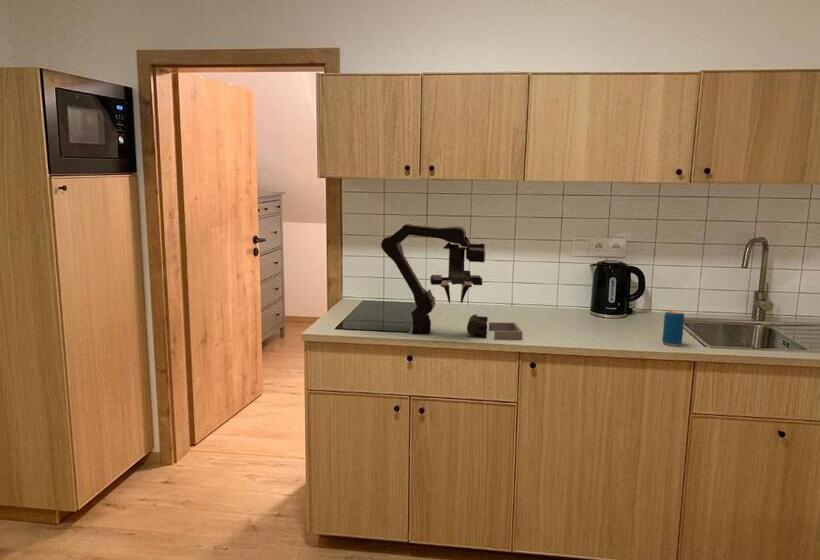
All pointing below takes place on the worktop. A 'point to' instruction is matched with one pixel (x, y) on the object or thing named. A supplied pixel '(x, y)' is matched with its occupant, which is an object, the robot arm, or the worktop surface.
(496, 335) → the grey shallow tray
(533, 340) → the worktop surface
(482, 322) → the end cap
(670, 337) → the beverage can
